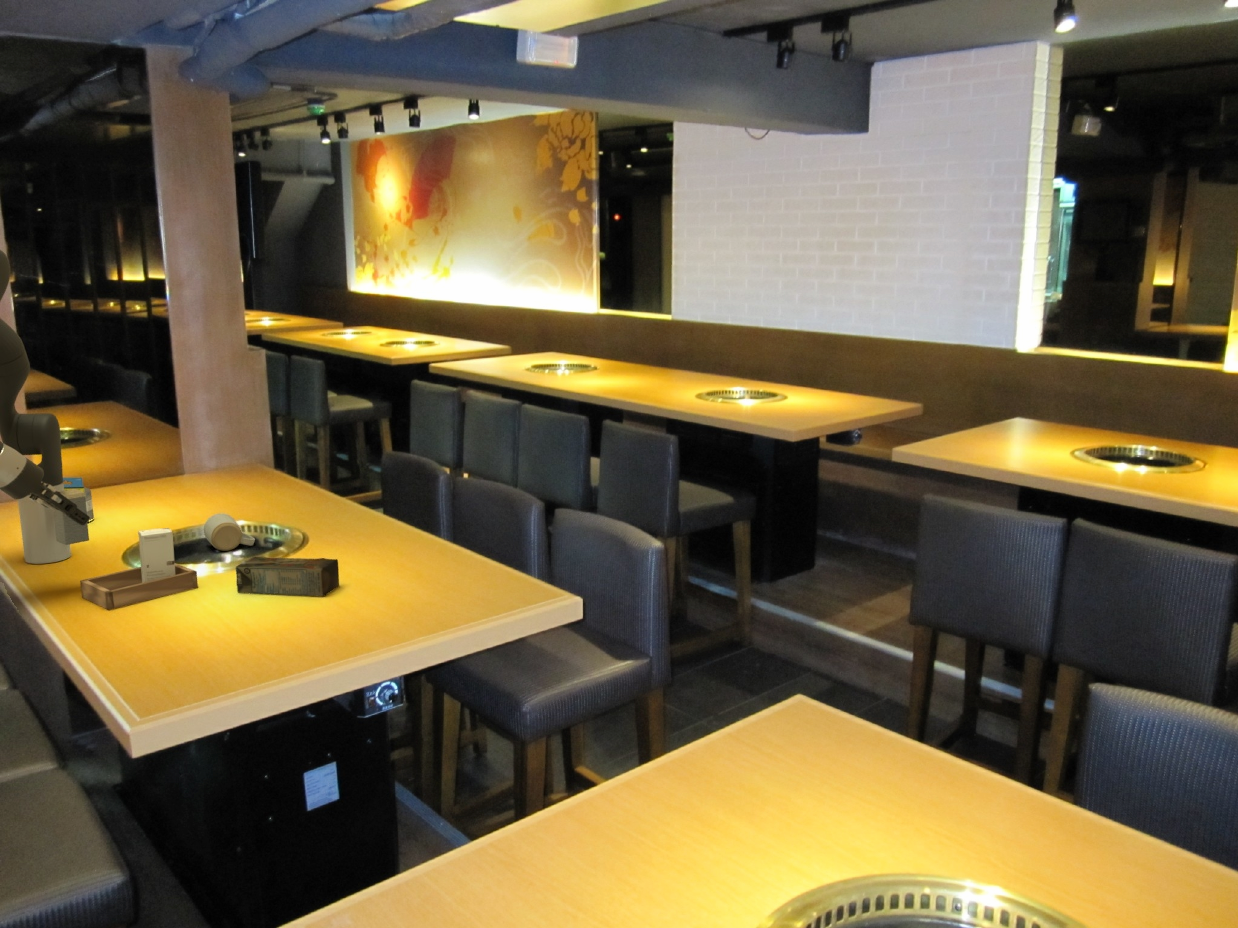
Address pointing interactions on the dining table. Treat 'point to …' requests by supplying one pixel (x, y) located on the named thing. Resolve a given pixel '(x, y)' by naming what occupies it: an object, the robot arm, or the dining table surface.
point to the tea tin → (71, 520)
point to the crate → (135, 587)
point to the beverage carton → (287, 576)
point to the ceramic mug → (225, 532)
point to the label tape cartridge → (78, 484)
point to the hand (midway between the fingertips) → (80, 519)
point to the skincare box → (156, 554)
